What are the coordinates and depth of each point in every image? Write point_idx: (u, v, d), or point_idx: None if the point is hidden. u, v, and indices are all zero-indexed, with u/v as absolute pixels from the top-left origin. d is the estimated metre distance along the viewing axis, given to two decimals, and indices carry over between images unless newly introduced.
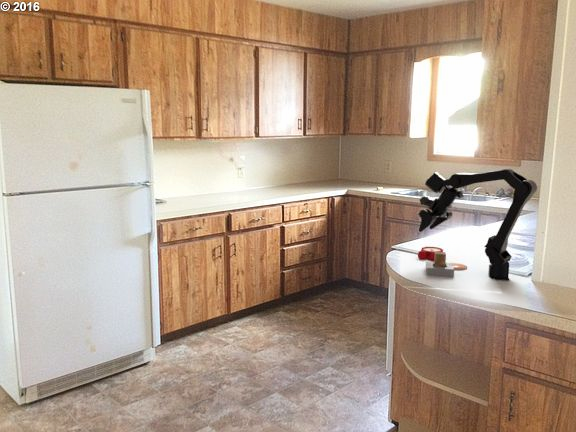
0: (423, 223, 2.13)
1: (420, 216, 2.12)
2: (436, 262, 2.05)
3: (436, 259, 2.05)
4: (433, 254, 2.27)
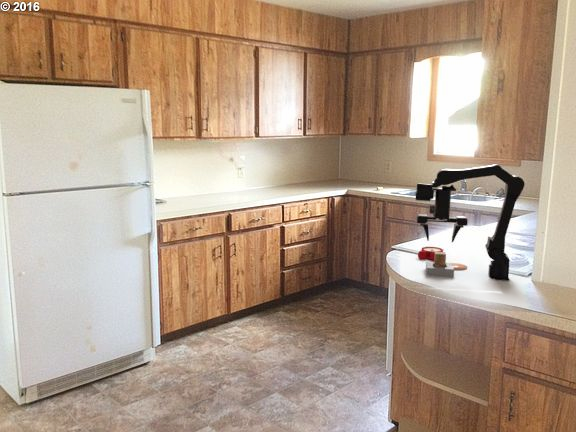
0: None
1: None
2: (436, 262, 2.05)
3: (436, 259, 2.05)
4: (433, 254, 2.27)
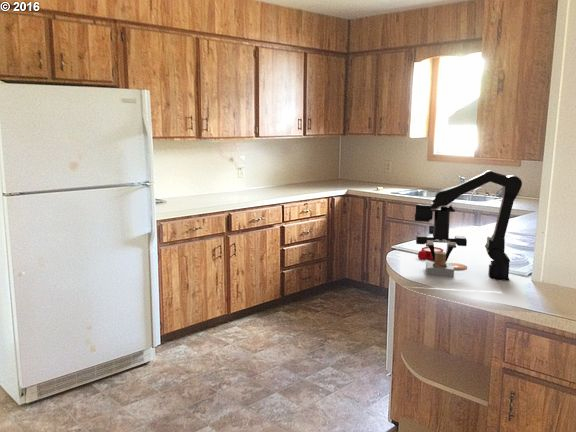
0: None
1: None
2: (436, 262, 2.05)
3: (436, 259, 2.05)
4: None
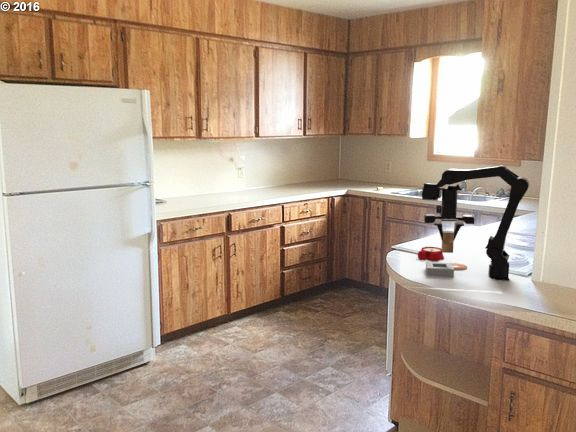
0: (439, 229, 2.09)
1: None
2: (444, 241, 2.07)
3: (445, 238, 2.07)
4: (433, 254, 2.27)
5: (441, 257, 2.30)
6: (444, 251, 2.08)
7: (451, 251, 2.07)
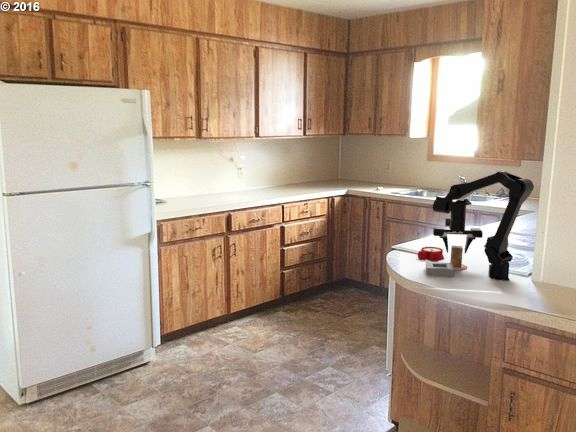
0: None
1: None
2: (453, 255, 2.13)
3: (453, 253, 2.13)
4: (433, 254, 2.27)
5: (441, 257, 2.30)
6: None
7: (459, 266, 2.14)
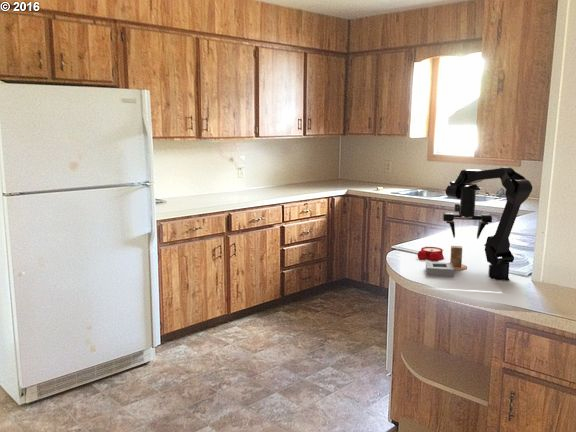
0: None
1: None
2: (453, 256, 2.13)
3: (453, 253, 2.13)
4: (433, 254, 2.27)
5: (441, 257, 2.30)
6: None
7: (459, 266, 2.14)
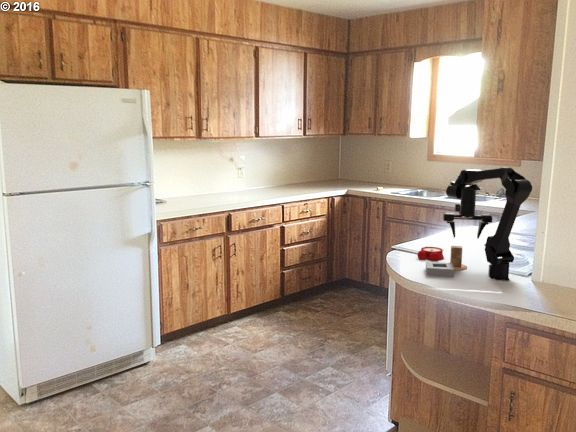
0: None
1: None
2: (453, 256, 2.13)
3: (453, 253, 2.13)
4: (433, 254, 2.27)
5: (441, 257, 2.30)
6: None
7: (459, 266, 2.14)
